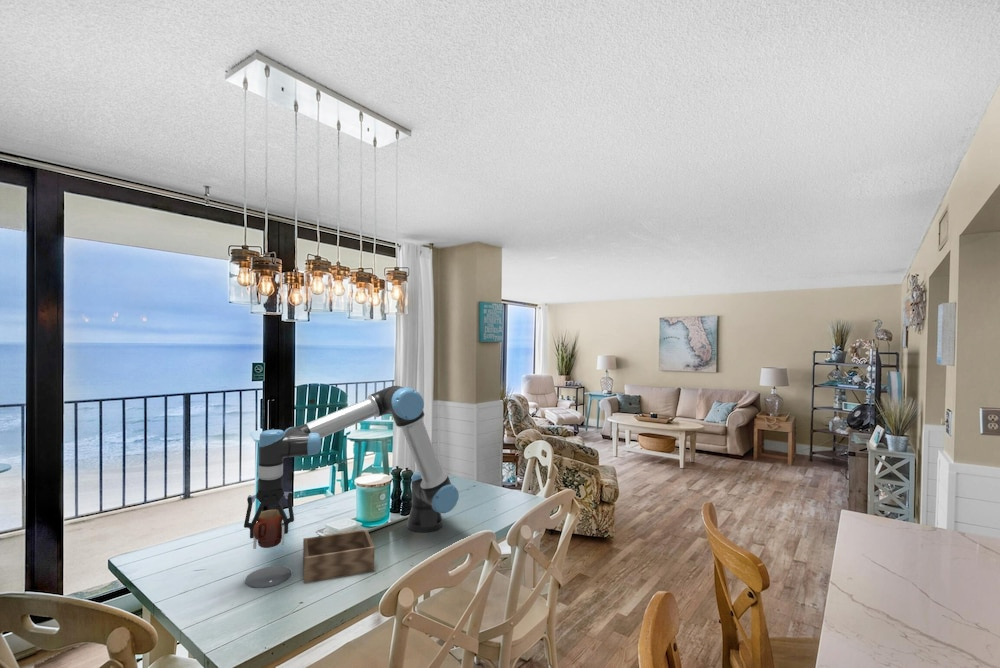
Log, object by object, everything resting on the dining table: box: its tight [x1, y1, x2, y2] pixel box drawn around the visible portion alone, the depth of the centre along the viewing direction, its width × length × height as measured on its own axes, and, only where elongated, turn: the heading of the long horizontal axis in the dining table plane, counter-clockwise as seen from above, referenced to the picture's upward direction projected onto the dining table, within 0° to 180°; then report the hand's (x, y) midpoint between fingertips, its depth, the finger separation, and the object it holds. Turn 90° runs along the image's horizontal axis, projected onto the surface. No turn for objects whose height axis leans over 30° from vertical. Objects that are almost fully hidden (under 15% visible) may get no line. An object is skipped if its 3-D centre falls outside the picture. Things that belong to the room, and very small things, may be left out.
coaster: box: [244, 565, 293, 589], centre depth 161 cm, size 14×14×1 cm
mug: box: [253, 509, 283, 549], centre depth 161 cm, size 12×9×10 cm
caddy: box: [302, 529, 376, 584], centre depth 170 cm, size 22×17×8 cm
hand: (269, 545), depth 161 cm, fingers closed on mug, 8 cm apart
